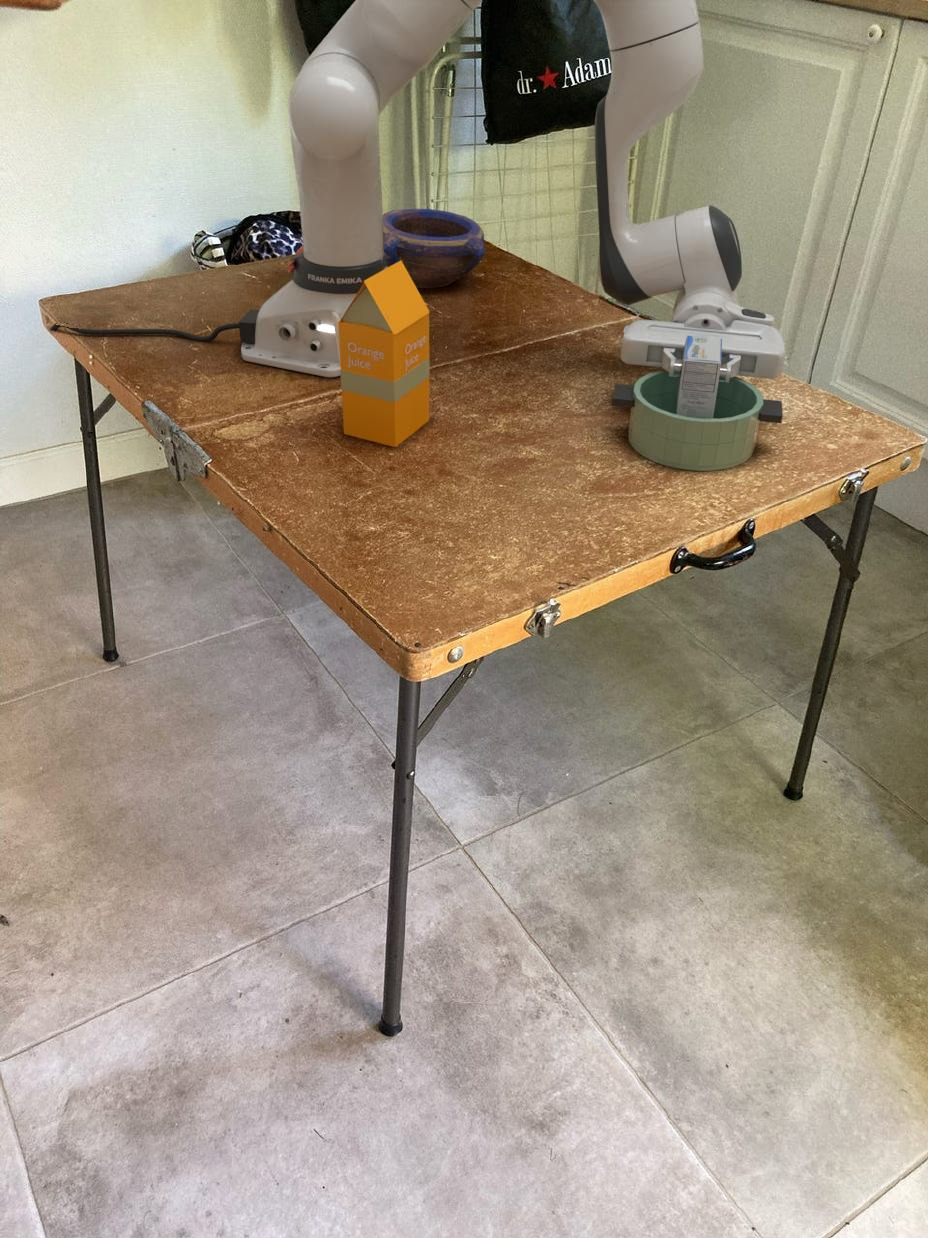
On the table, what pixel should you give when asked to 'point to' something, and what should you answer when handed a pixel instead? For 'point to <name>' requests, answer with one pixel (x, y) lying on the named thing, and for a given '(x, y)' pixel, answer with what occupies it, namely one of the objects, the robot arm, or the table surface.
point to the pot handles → (768, 414)
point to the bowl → (432, 244)
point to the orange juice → (385, 359)
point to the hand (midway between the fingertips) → (699, 374)
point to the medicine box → (699, 377)
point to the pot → (694, 425)
